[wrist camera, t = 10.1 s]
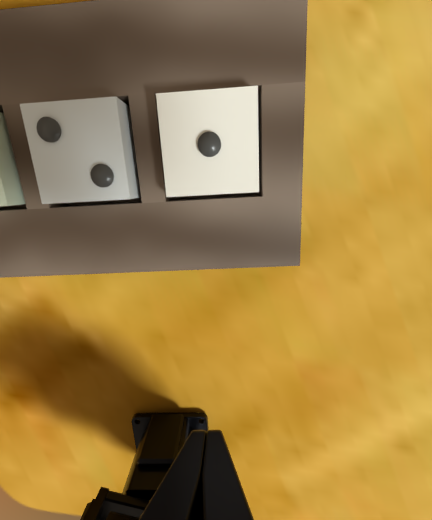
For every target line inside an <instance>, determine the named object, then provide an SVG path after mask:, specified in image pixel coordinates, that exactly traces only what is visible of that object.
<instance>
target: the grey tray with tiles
mask: <svg viewBox="0 0 432 520" xmlns="http://www.w3.org/2000/svg"><path fill="white" fill-rule="evenodd" d="M306 34H307V0H94V1H84V2H73V3H63V4H53V5H43V6H33V7H22V8H12V9H2V10H0V112H1V113H4V116H5V120H6V124H7V129H8V133H9V137H10V141H11V145H12V149H13V154H14V158H15V162H16V166H17V170H18V174H19V178H20V183H21V187H22V191H23V195H24V199H25V203H26V204H22V205H13V206H0V277H25V276H50V275H75V274H100V273H125V272H150V271H175V270H200V269H225V268H250V267H275V266H300V243H301V208H302V173H303V138H304V104H305V69H306ZM246 86H258V138H259V192H252V193H234V194H216V195H198V196H180V197H166V188H165V179H164V169H163V159H162V149H161V140H160V130H159V120H158V110H157V100H156V93H169V92H181V91H194V90H207V89H220V88H233V87H246ZM115 96H116V97H117V98H119V99H120V100H121V101H123V102H124V103H125V104H127V105H128V106H129V107H130V113H131V121H132V129H133V137H134V145H135V153H136V161H137V169H138V177H139V184H140V192H141V197H140V198H134V199H126V200H108V201H90V202H72V203H54V204H42V202H41V197H40V193H39V188H38V184H37V179H36V175H35V170H34V166H33V162H32V157H31V153H30V148H29V144H28V139H27V135H26V130H25V126H24V121H23V117H22V113H21V108H20V104H24V103H37V102H50V101H63V100H76V99H89V98H102V97H115Z"/></svg>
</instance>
